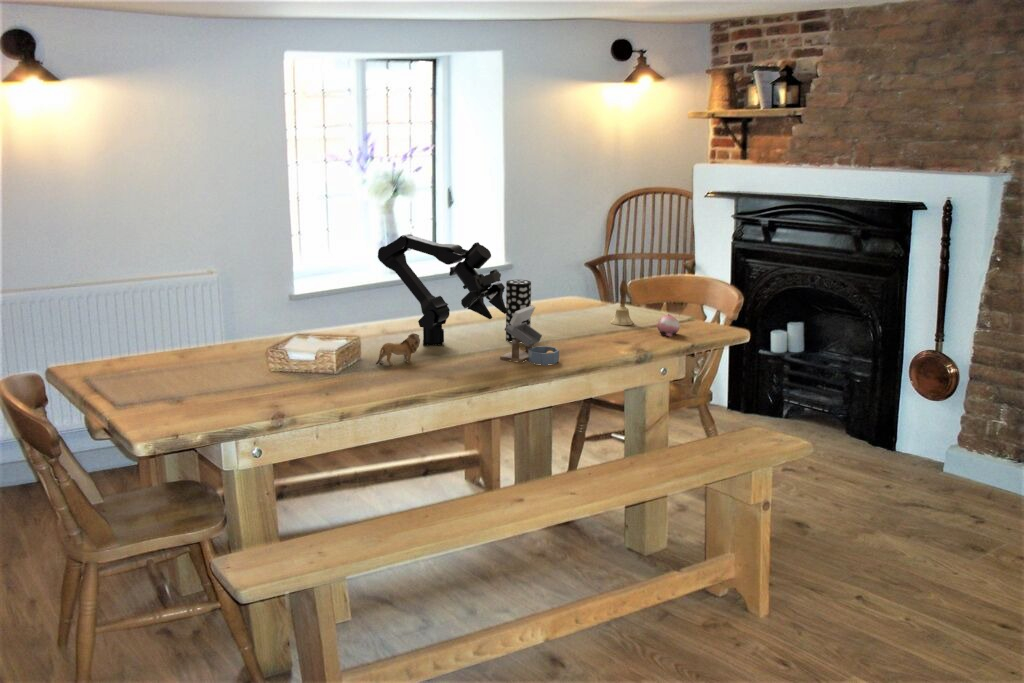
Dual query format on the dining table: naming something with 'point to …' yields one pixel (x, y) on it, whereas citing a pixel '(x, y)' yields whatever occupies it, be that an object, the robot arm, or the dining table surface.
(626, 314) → the hand bell
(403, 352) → the lion figurine
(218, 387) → the dining table surface
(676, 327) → the piggy bank
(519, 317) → the tipper
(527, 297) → the white-spotted black cylinder
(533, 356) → the blue bowl
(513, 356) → the stand
